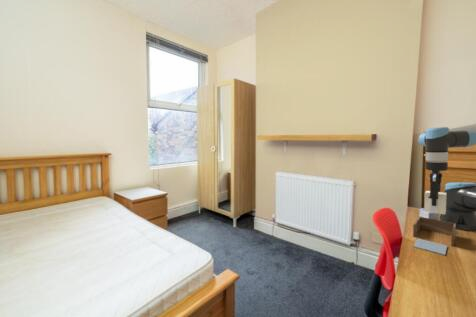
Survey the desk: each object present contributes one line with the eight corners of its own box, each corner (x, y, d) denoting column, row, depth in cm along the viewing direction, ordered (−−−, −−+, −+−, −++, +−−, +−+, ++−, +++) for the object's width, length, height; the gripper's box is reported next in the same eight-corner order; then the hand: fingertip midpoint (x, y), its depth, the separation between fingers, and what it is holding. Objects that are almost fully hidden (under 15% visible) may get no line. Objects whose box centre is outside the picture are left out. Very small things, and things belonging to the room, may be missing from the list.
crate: (418, 227, 112) (418, 216, 111) (455, 235, 102) (455, 223, 101) (413, 236, 102) (413, 224, 102) (453, 246, 92) (453, 233, 92)
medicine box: (438, 229, 109) (439, 213, 108) (428, 229, 110) (429, 212, 109) (428, 223, 117) (428, 208, 116) (418, 223, 118) (419, 207, 117)
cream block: (425, 208, 103) (426, 190, 102) (445, 211, 98) (446, 192, 97) (424, 211, 100) (424, 192, 99) (445, 214, 94) (445, 194, 94)
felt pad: (417, 239, 99) (417, 238, 99) (447, 246, 92) (447, 245, 92) (413, 246, 93) (413, 245, 93) (445, 255, 85) (445, 254, 85)
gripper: (428, 159, 106) (427, 204, 107) (422, 163, 94) (421, 214, 96) (449, 159, 100) (447, 207, 102) (445, 163, 88) (444, 218, 90)
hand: (434, 210), depth 99 cm, fingers closed on cream block, 5 cm apart
